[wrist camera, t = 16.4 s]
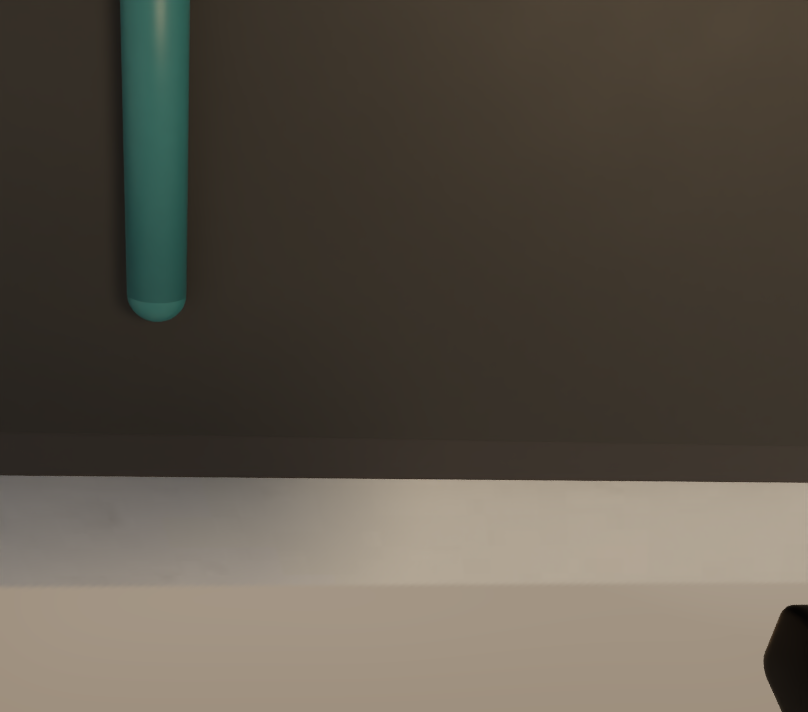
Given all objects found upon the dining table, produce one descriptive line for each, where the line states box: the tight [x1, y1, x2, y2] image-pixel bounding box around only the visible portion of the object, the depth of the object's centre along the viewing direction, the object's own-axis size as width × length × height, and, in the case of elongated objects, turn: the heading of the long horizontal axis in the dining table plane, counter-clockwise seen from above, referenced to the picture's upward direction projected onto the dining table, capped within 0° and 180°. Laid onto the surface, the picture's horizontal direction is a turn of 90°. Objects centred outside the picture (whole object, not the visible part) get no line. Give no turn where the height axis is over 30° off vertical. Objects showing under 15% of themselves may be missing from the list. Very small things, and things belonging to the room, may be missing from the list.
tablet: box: [0, 0, 808, 483], centre depth 18 cm, size 28×20×1 cm
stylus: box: [120, 0, 190, 322], centre depth 15 cm, size 1×1×13 cm
